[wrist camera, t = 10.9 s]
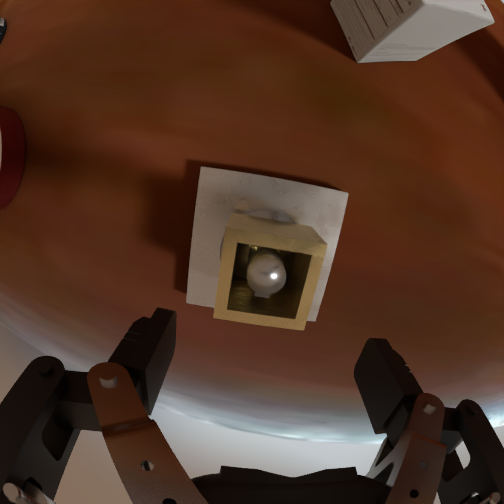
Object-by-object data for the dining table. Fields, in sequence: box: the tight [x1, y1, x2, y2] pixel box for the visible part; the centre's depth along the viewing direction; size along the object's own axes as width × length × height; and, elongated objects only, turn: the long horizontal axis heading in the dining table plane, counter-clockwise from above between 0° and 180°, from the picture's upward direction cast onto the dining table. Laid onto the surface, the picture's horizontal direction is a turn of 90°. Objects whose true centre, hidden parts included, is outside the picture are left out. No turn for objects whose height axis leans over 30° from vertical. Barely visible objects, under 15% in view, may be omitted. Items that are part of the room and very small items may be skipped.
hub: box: [213, 213, 328, 330], centre depth 20 cm, size 6×6×5 cm
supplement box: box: [330, 0, 494, 63], centre depth 12 cm, size 7×7×13 cm
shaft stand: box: [186, 167, 348, 321], centre depth 21 cm, size 12×12×7 cm
